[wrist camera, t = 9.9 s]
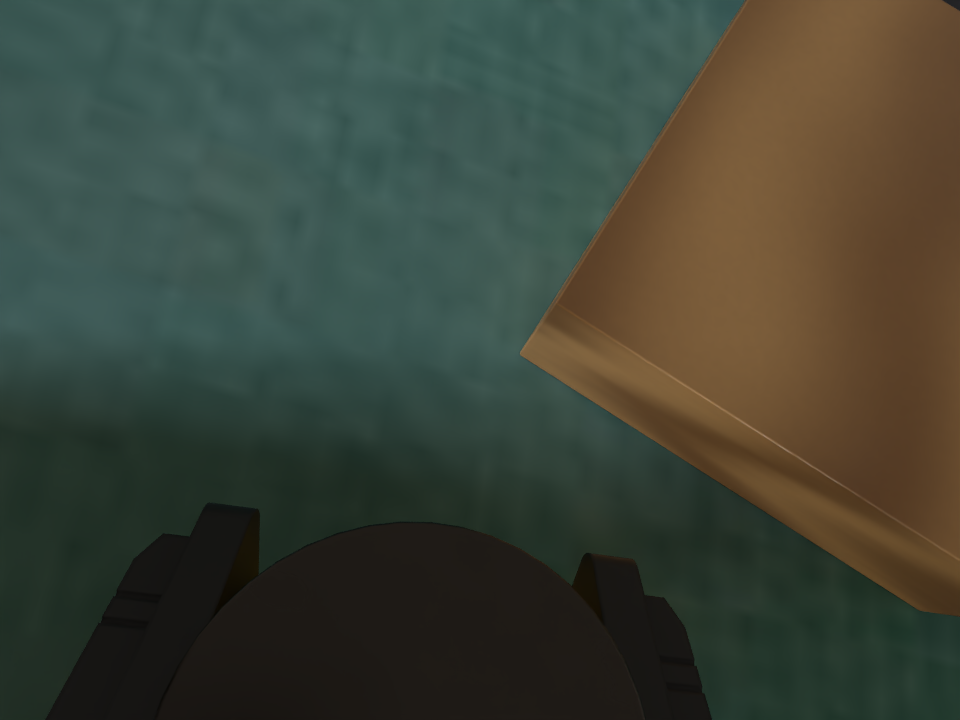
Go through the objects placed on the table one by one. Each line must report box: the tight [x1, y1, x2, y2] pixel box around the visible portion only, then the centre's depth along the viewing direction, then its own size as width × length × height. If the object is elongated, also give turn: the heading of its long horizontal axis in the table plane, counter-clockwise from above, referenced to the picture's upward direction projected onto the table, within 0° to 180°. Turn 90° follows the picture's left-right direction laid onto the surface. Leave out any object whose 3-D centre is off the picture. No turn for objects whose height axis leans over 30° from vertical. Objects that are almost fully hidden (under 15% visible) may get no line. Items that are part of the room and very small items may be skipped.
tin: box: [153, 522, 646, 720], centre depth 11 cm, size 5×5×8 cm
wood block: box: [520, 0, 960, 617], centre depth 21 cm, size 14×14×5 cm
